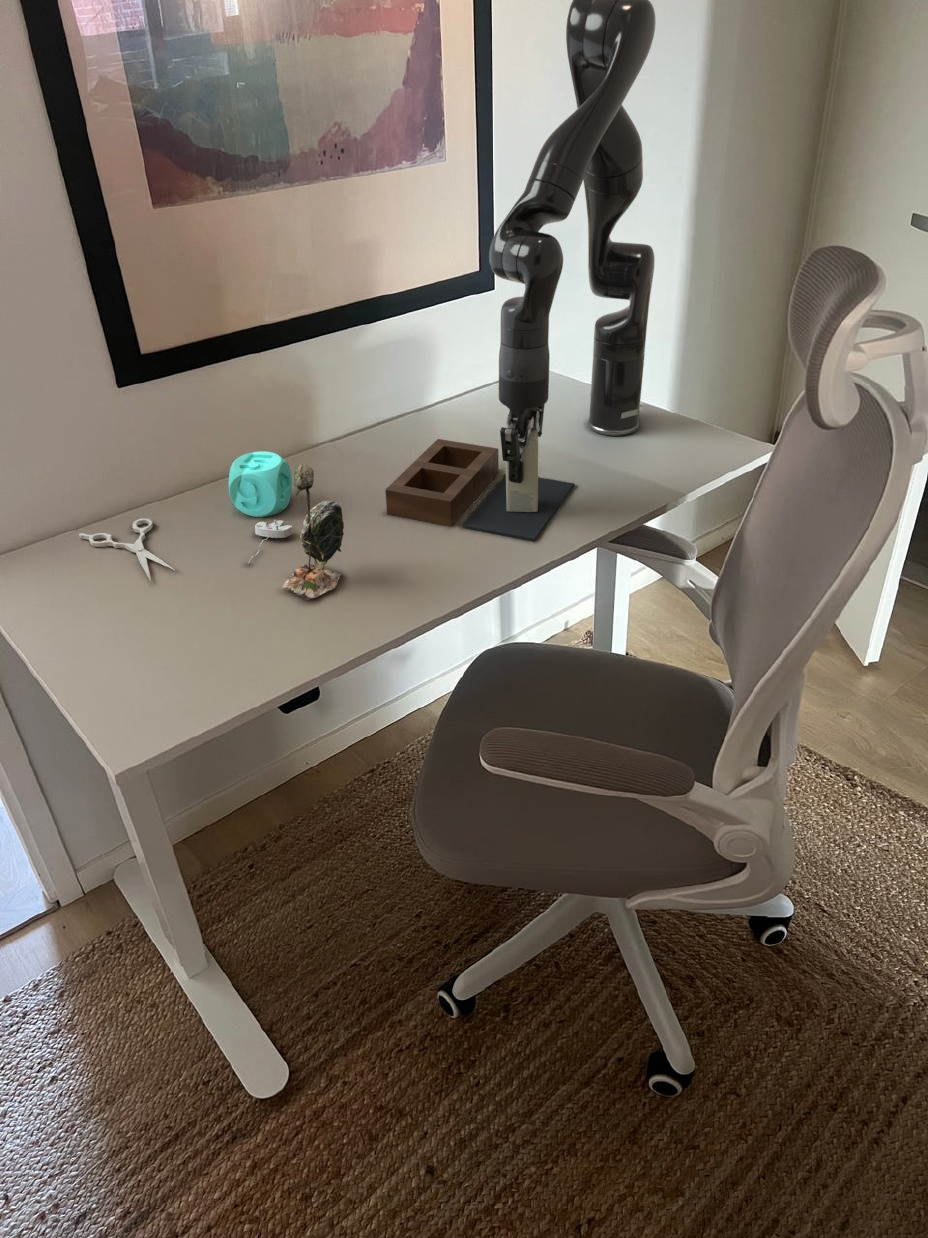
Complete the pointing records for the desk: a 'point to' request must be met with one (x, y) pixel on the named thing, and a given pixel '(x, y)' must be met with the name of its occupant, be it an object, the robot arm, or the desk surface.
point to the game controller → (272, 530)
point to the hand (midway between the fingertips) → (522, 473)
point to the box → (525, 480)
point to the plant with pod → (316, 541)
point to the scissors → (135, 547)
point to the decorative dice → (260, 484)
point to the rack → (442, 482)
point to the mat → (518, 524)
